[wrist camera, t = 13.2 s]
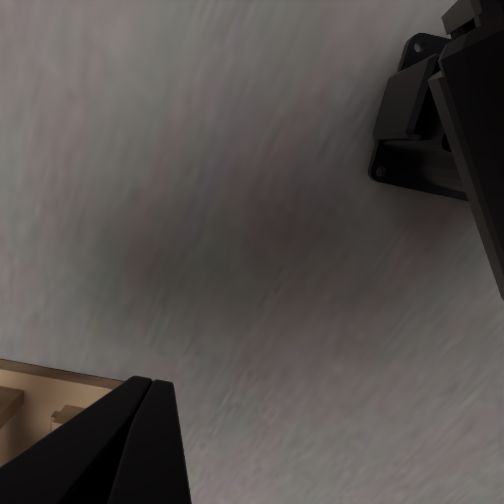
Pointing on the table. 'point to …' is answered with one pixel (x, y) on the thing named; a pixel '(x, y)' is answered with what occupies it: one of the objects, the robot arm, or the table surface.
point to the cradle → (41, 402)
